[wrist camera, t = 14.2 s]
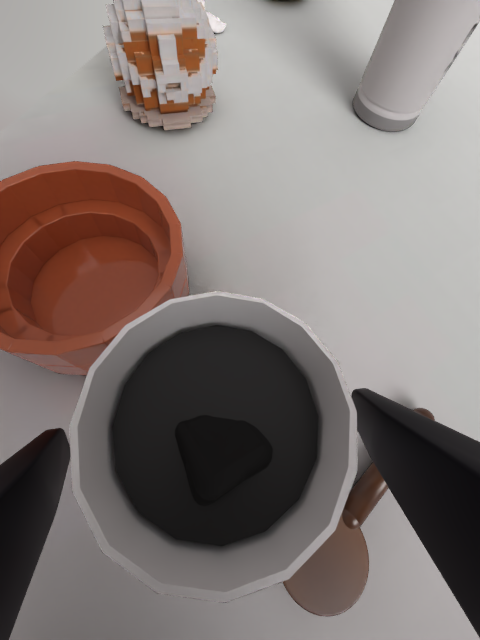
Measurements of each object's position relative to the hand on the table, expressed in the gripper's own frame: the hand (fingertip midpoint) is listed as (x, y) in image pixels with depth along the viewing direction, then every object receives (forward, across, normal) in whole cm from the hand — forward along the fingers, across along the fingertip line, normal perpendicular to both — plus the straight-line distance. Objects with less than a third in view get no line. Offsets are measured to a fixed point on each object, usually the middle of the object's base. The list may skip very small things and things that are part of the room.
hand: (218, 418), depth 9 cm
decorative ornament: (+25, +1, -14) cm, 28 cm away
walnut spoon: (+2, -7, +8) cm, 11 cm away
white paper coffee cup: (+5, 0, +6) cm, 8 cm away
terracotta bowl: (+12, +6, -1) cm, 13 cm away
